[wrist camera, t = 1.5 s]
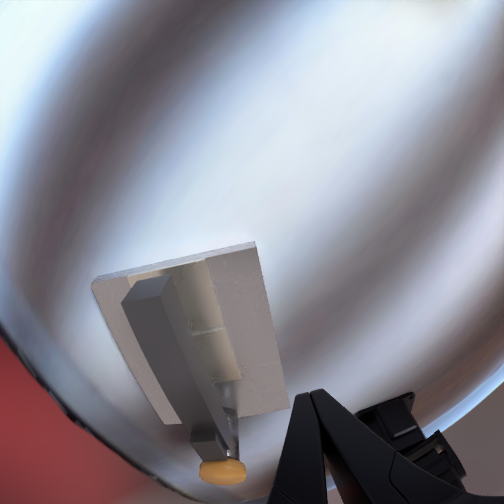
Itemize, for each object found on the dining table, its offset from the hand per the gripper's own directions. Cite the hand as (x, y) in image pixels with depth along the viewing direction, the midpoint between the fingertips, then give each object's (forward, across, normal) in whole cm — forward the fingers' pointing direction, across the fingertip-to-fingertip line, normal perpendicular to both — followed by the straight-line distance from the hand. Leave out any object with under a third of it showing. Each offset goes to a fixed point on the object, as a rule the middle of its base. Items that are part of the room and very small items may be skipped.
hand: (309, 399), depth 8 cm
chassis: (+11, +6, +5) cm, 13 cm away
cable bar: (+7, +6, +5) cm, 11 cm away
